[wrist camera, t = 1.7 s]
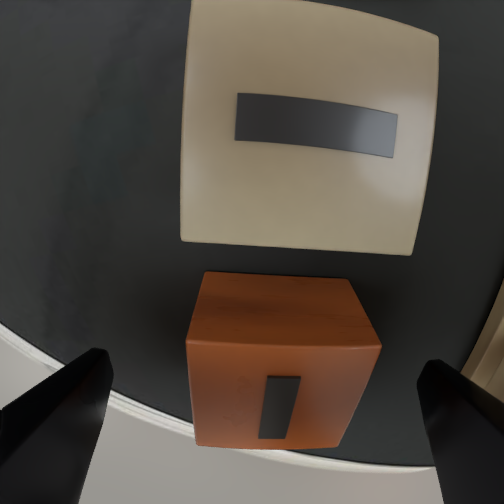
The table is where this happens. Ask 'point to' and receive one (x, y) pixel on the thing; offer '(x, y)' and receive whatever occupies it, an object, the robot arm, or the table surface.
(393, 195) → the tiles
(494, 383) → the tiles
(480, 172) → the table surface
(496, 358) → the pattern board
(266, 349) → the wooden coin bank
